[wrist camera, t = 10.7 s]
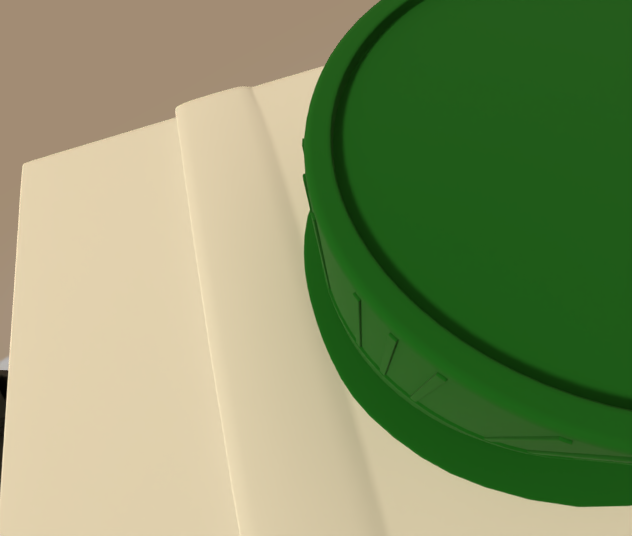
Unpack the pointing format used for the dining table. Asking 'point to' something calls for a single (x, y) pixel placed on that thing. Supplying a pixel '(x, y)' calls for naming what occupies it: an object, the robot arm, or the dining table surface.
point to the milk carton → (342, 295)
